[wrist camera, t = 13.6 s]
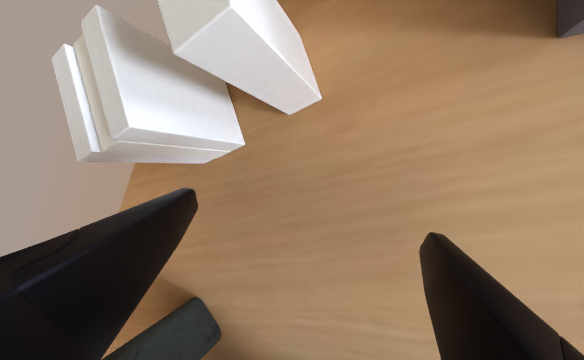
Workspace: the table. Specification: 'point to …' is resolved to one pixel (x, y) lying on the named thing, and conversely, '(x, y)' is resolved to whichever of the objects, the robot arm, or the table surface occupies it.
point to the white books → (140, 98)
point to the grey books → (570, 17)
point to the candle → (174, 336)
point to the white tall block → (244, 48)
